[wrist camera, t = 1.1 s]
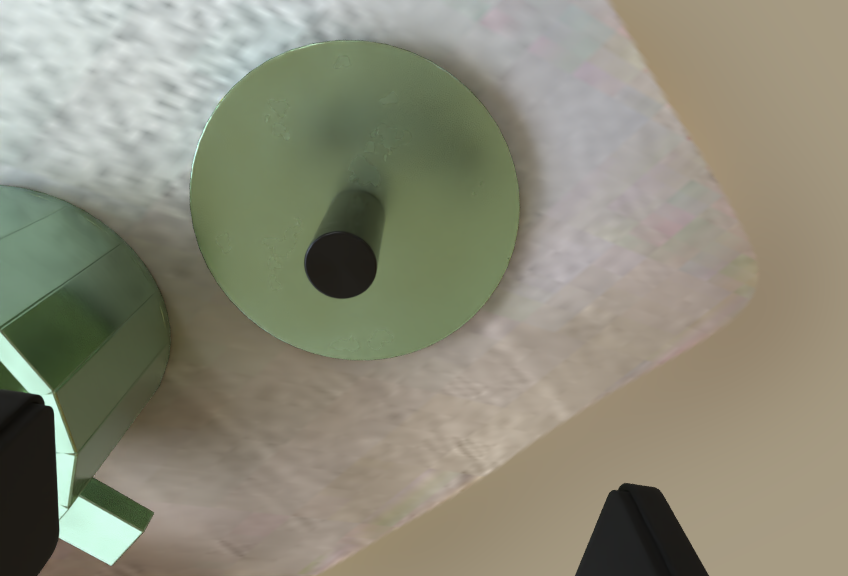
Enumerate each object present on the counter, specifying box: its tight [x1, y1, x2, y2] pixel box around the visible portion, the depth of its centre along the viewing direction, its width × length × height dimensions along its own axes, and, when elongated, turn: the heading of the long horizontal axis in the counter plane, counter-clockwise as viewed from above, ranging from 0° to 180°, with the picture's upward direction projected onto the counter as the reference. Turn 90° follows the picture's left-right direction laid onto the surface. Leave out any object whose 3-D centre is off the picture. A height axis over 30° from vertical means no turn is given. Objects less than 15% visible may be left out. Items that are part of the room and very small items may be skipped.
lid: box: [190, 40, 520, 360], centre depth 22 cm, size 14×14×7 cm
